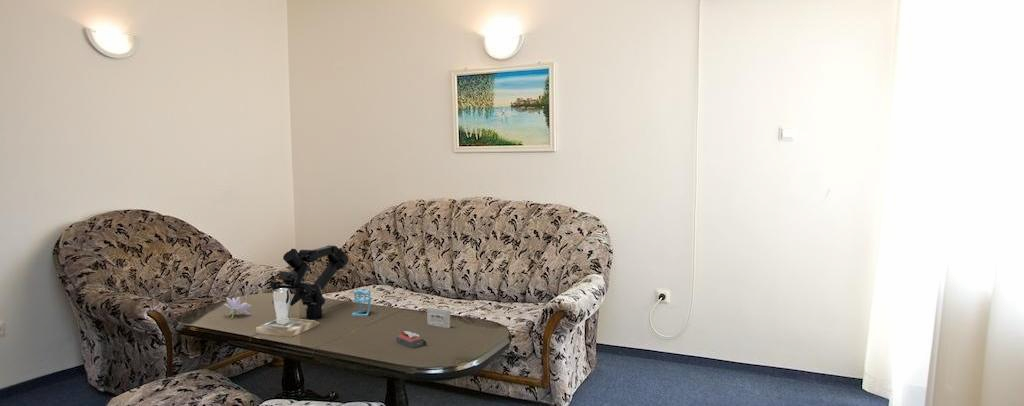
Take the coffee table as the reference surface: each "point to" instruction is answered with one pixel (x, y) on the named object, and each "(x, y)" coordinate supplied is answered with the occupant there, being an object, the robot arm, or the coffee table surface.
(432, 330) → the coffee table surface
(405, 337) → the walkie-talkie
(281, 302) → the beer glass
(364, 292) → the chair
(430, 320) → the cassette
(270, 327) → the dock
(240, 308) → the water lily
